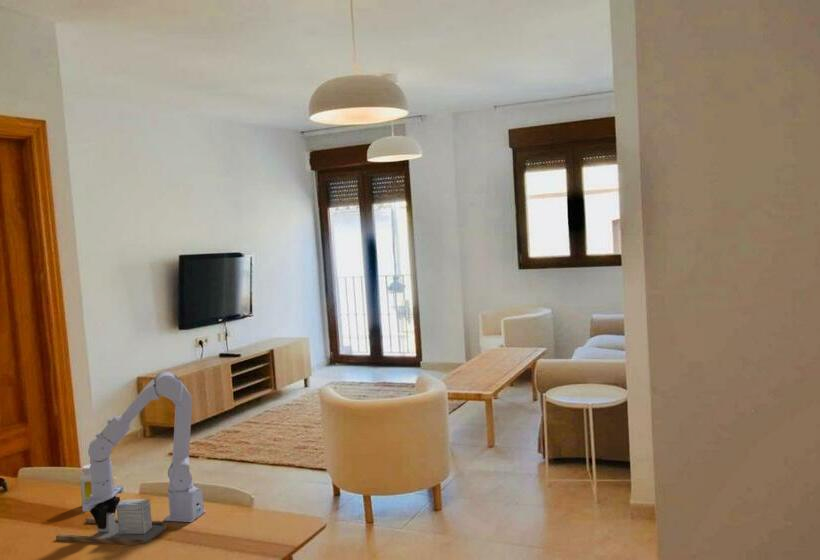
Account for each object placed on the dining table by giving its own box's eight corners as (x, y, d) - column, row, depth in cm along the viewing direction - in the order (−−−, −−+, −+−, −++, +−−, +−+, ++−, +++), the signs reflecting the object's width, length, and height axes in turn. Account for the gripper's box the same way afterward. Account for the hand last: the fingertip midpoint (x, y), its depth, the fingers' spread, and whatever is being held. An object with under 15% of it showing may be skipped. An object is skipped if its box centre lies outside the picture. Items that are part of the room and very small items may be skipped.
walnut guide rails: (163, 525, 188) (163, 521, 188) (135, 545, 176) (135, 541, 176) (88, 521, 194) (88, 517, 194) (56, 540, 182) (55, 535, 182)
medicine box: (152, 527, 185) (150, 498, 184) (144, 534, 180) (142, 504, 180) (126, 528, 186) (124, 498, 185) (118, 535, 181) (115, 505, 181)
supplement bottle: (109, 502, 208) (106, 464, 208) (89, 510, 203) (86, 470, 202) (97, 499, 212) (94, 461, 211) (78, 506, 206) (74, 467, 206)
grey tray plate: (166, 528, 186) (165, 510, 185) (146, 542, 177) (145, 524, 177) (111, 525, 190) (110, 507, 190) (89, 539, 181) (88, 520, 181)
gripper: (107, 470, 193) (111, 514, 193) (71, 488, 179) (75, 536, 179) (128, 471, 191) (131, 516, 192) (93, 489, 177) (96, 537, 177)
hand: (105, 526), depth 185 cm, fingers closed on grey tray plate, 2 cm apart
